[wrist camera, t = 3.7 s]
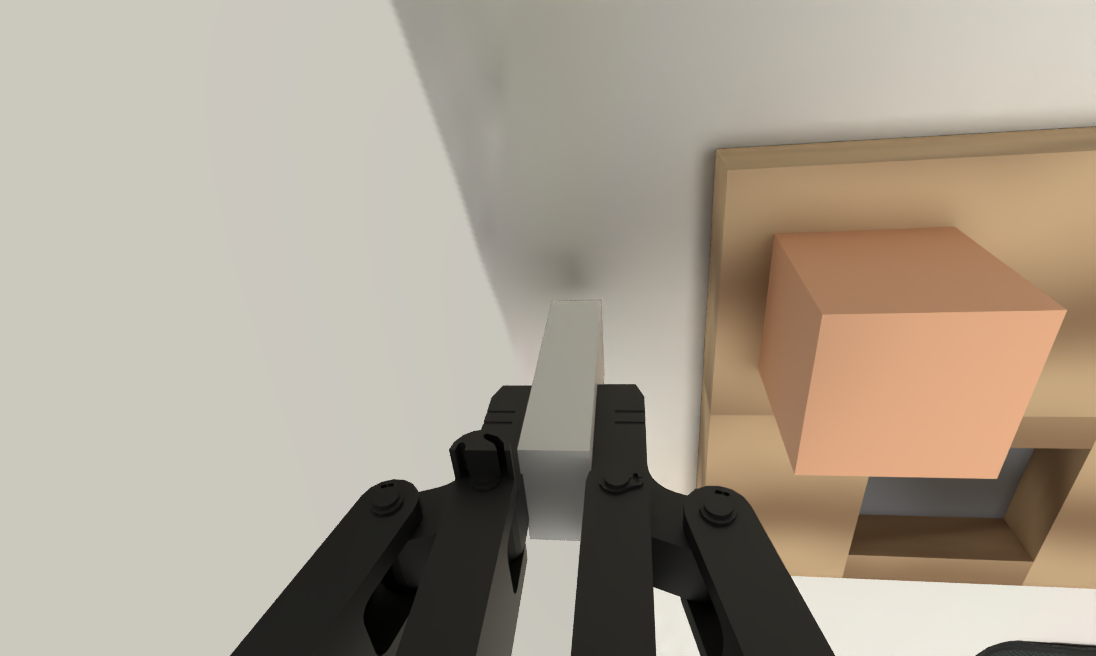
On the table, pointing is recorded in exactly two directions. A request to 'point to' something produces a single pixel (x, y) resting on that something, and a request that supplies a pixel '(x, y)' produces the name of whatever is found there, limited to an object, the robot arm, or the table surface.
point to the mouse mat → (1036, 649)
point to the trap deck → (914, 502)
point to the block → (900, 352)
